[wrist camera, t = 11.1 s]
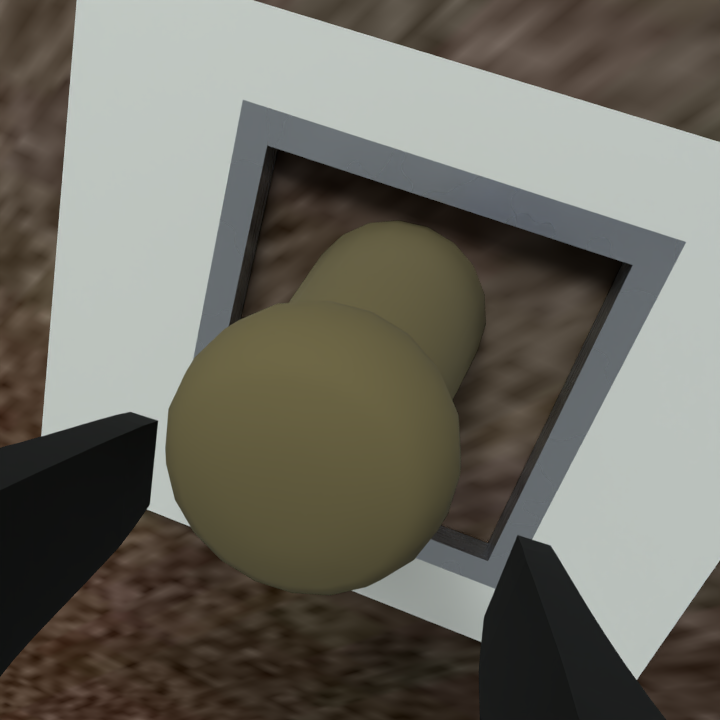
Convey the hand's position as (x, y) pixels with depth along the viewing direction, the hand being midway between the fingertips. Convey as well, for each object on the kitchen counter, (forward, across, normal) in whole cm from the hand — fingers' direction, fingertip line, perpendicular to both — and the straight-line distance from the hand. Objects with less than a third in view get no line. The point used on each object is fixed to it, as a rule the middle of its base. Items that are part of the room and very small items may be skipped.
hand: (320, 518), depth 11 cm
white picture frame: (+9, 0, 0) cm, 9 cm away
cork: (+9, 0, -2) cm, 9 cm away
